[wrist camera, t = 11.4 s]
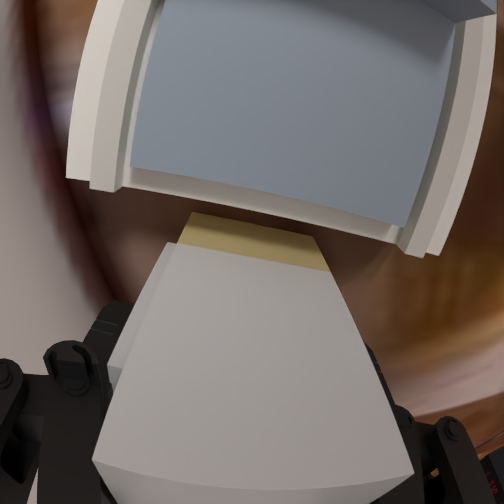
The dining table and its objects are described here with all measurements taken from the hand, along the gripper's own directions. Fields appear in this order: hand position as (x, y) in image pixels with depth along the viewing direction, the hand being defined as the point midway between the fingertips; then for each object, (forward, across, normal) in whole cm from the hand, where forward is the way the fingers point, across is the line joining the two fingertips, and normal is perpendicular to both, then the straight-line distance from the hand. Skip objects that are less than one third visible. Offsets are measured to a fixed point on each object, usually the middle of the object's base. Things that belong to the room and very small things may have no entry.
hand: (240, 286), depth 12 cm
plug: (+1, 0, 0) cm, 1 cm away
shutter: (-2, 0, +9) cm, 9 cm away
